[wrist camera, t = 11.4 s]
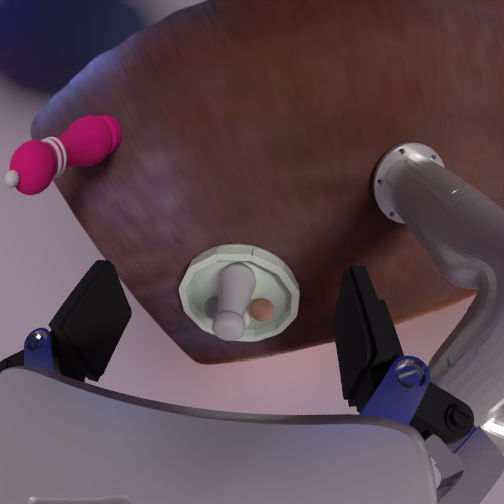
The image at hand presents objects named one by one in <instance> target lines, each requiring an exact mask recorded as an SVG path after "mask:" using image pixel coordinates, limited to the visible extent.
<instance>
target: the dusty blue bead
mask: <svg viewBox="0 0 504 504" xmlns="http://www.w3.org/2000/svg"><path fill="white" fill-rule="evenodd" d="M204 311H205V313H206V315H207V316H208V317H209V318H211V319H214V317H215V316H216V315H217V314H218V313H219V297H217V296H214V297H210V298H209V299H208V300H207V301H206V302H205V304H204Z"/></svg>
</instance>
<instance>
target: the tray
mask: <svg viewBox="0 0 504 504" xmlns="http://www.w3.org/2000/svg"><path fill="white" fill-rule="evenodd" d="M235 262H243V263H245V264H246V265H248V266H249V267H251V269H252V270H253V272H254V274H255V277H256V281H257V282H256V287H255V290H254V292H253V295H252V297H251V300H250V302H249V305H248V307H247V310H248V312H249V313H250V316H251V321H250V324H249V325H248V326H247V327H246V328H245V332H244V335H243V336H242V337H241V338H240V339H237V340H234V341H259V340H262V339H265V338H268V337H271V336H274V335H277V334H280V333H281V332H282V331H283V330H284V329H285V328H286V327H287V326H288V325H289V324H290V323H291V322H292V321H293V320H294V319H295V318H296V317H297V313H298V304H299V295H300V293H299V285H298V283H297V281H296V279H295V276H294V274H293V272H292V270H291V269H290V268H289V266H288V265H287V264H286V263H285V262H284V261H283V260H282V259H281V258H279V257H278V256H277V255H275V254H273V253H272V252H270V251H268V250H265V249H263V248H261V247H257V246H254V245H249V244H241V243H230V244H223V245H218V246H215V247H212V248H210V249H207V250H205V251H204V252H202V253H201V254H199V255H198V256H197V257H196V258H195V259H193V260H192V261H191V263H190V265H189V267H188V269H187V272H186V274H185V276H184V278H183V280H182V282H181V285H180V287H179V293H180V297H181V301H182V305H183V309H184V311H185V313H186V314H187V315H188V316H189V317H190V318H191V319H192V320H193V321H194V322H195V323H196V324H197V325H198V326H199V327H200V328H201V329H203V330H204V331H207V332H209V333H212V334H214V332H213V330H212V324H213V319H211V318H209V317H208V316H207V315H206V313H205V311H204V304H205V302H206V301H207V300H208V299H209V298H210V297H214V296H217V297H219V277H220V273H221V272H222V271H223V270H224V268H225V267H227V266H228V265H229V264H230V263H235ZM259 298H265V299H268V300H269V301H270V302H271V303H272V304H273V307H274V313H273V315H272V317H271V318H270V319H269V320H267V321H264V322H260V321H257V320H255V319H254V318H253V317H252V315H251V312H250V308H251V305H252V303H253V302H254V301H255V300H257V299H259ZM214 335H215V334H214Z"/></svg>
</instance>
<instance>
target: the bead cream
mask: <svg viewBox="0 0 504 504" xmlns="http://www.w3.org/2000/svg"><path fill="white" fill-rule="evenodd" d="M243 318H244V321H245V323H246V327H247V326H248V325H249V324H250V321H251V316H250V313H249V312H248V310H246V312H245V314H244V317H243Z"/></svg>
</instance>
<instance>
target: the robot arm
mask: <svg viewBox="0 0 504 504" xmlns="http://www.w3.org/2000/svg"><path fill="white" fill-rule="evenodd" d="M400 149H401V151H400V152H399V150H400ZM379 179H380V181H378V180H379ZM373 192H374V197H375V200H376V202H377V204H378V206H379V208H380V209H381V210H382V212H383V213H384V214H385V215H386V216H387V217H388V218H389V219H391V220H393V221H395V222H398V223H402V224H406V225H407V227H408V228H409V229H410V230H411V232H412V233H413V234H414V236H415V237H416V238H417V240H418V241H419V242H420V244H421V245H422V246H423V248H424V249H425V251H426V252H427V253H428V255H429V256H430V258H431V259H432V260H433V262H434V263H435V265H436V266H437V267H438V269H439V270H440V272H441V273H442V274H443V276H444V277H445V278H446V279H447V280H448V281H450V282H451V283H453V284H455V285H457V286H460V287H464V288H478V292H477V294H476V297H475V299H474V300H473V302H472V303H471V305H470V306H469V308H468V310H467V312H466V314H465V315H464V317H463V318H462V319H461V321H460V322H459V323H458V325H457V326H456V328H455V329H454V330H453V331H452V333H451V334H450V335H449V337H448V338H447V339H446V340H445V342H444V343H443V344H442V345H441V346H440V348H439V349H438V350H437V352H436V353H435V354H434V356H433V357H432V359H431V361H430V362H429V364H428V367H427V365H426V364H425V363H424V362H423V361H422V360H420V359H419V358H417V357H414V356H404V354H403V351H402V348H401V345H400V342H399V339H398V336H397V333H396V330H395V327H394V324H393V322H392V319H391V316H390V313H389V311H388V308H387V306H386V303H385V301H383V300H378V298H377V295H376V293H375V290H374V287H373V285H372V282H371V280H370V277H369V275H368V272H367V270H366V267H365V266H350V267H349V270H345V271H344V274H343V279H342V284H341V288H340V293H339V298H338V302H337V306H336V311H335V315H334V319H333V329H334V335H335V342H336V348H337V354H338V361H339V368H340V375H341V383H342V391H343V397H344V400H347V399H348V403H349V407H350V406H356V407H357V412H359V413H360V414H359V415H350V414H348V415H347V414H346V415H344V414H343V415H269V414H249V413H236V412H225V411H215V410H207V409H199V408H192V407H186V406H179V405H174V404H168V403H163V402H158V401H153V400H148V399H143V398H139V397H135V396H130V395H126V394H122V393H119V392H114V391H111V390H107V389H104V388H100V387H97V386H94V385H91V384H88V383H85V380H84V379H85V377H87V378H88V379H89V380H93V381H96V382H98V380H99V378H100V376H102V375H103V374H104V371H105V369H106V367H107V365H108V363H109V361H110V359H111V356H112V354H113V352H114V350H115V348H116V346H117V344H118V342H119V340H120V338H121V336H122V333H123V332H124V330H125V328H126V326H127V324H128V322H129V320H130V318H131V314H132V312H131V308H130V306H129V303H128V301H127V298H126V296H125V293H124V291H123V288H122V285H121V283H120V280H119V278H118V275H117V272H116V269H115V267H114V265H113V264H111V262H110V261H108V260H97V261H96V262H95V263H94V264H93V265H92V267H91V268H90V269H89V271H88V272H87V273H86V274H85V276H84V277H83V278H82V279H81V281H80V282H79V283H78V284H77V286H76V287H75V288H74V290H73V291H72V292H71V294H70V295H69V296H68V298H67V299H66V301H65V302H64V303H63V305H62V306H61V308H60V309H59V310H58V312H57V313H56V315H55V316H54V318H53V319H52V320H51V322H50V323H49V326H50V328H51V329H52V330H51V332H49V331H48V330H47V329H46V328H38V329H35V330H34V331H32V332H31V333H30V334H29V335H28V336H27V338H26V340H25V343H24V350H22V351H20V352H18V353H16V354H14V355H12V356H10V357H8V358H6V359H4V360H3V361H1V362H0V504H479V503H480V502H481V501H482V499H483V498H484V497H485V495H487V493H488V492H489V490H490V489H491V488H492V486H493V485H494V484H495V483H496V481H497V480H498V479H499V477H500V476H501V474H502V472H503V470H504V456H503V454H502V453H504V210H503V209H502V208H501V207H499V206H498V205H497V204H495V203H494V202H493V201H491V200H490V199H489V198H488V197H486V196H485V195H483V194H482V193H481V192H479V191H478V190H476V189H475V188H474V187H472V186H471V185H469V184H468V183H466V182H465V181H464V180H462V179H461V178H459V177H458V176H456V175H455V174H453V173H451V172H450V171H448V170H447V169H445V167H444V164H443V162H442V160H441V158H440V157H439V156H438V154H437V153H436V152H435V151H434V150H433V149H431V148H429V147H428V146H426V145H423V144H421V143H417V142H405V143H402V144H399V145H397V146H395V147H393V148H391V149H390V150H389V151H388V152H386V154H385V155H384V156H383V157H382V158H381V160H380V162H379V163H378V165H377V168H376V170H375V173H374V179H373ZM501 452H502V453H501ZM430 457H432V458H433V459H434V461H435V462H436V464H435V466H436V467H437V468H438V470H439V472H440V474H441V482H440V485H439V487H438V488H437V489H436V484H435V477H434V471H433V466H432V462H431V458H430Z"/></svg>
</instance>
